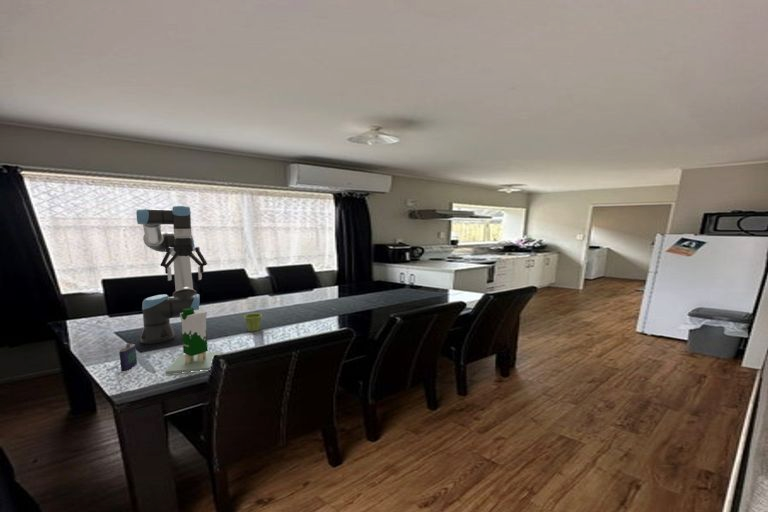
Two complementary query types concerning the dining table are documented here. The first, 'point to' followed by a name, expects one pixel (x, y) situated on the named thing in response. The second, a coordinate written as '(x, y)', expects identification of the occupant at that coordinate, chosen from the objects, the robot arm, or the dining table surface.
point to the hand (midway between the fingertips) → (185, 279)
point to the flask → (128, 357)
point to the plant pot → (253, 322)
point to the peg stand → (192, 363)
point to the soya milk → (194, 331)
